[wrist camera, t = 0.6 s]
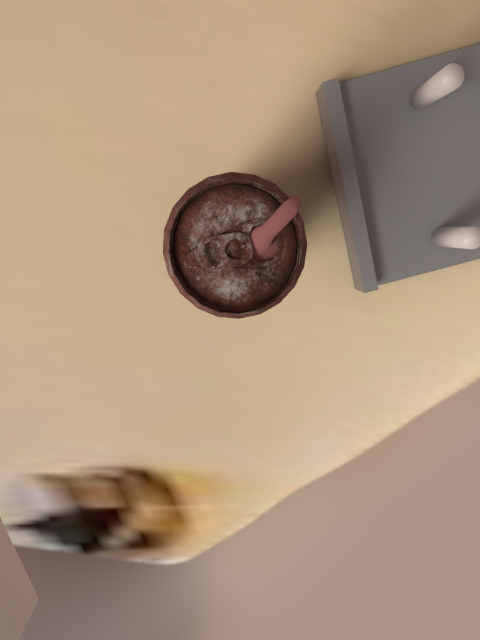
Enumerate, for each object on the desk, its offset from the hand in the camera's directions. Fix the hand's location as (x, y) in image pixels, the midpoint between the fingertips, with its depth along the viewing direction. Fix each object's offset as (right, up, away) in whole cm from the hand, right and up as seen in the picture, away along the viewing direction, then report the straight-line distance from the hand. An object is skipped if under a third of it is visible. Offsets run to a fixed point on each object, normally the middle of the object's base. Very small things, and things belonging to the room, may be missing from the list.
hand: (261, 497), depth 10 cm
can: (-1, +11, +20) cm, 22 cm away
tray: (+15, +16, +19) cm, 29 cm away
